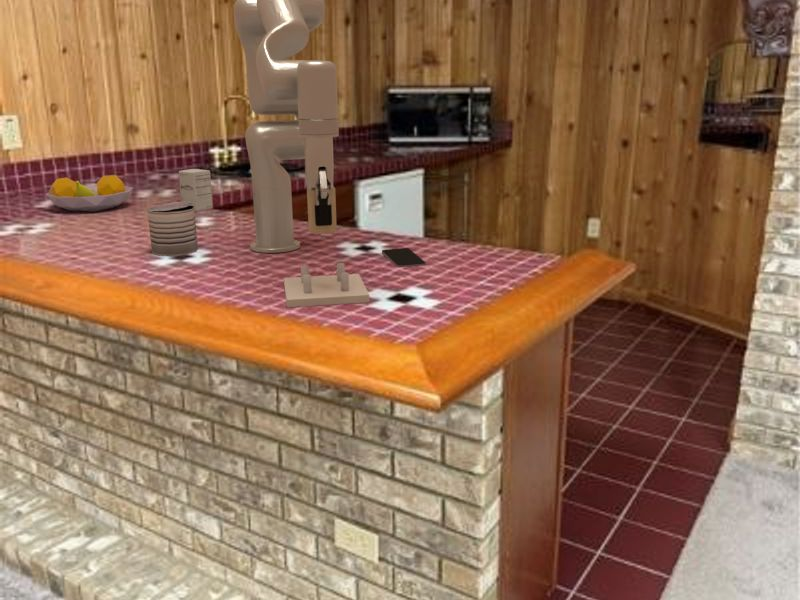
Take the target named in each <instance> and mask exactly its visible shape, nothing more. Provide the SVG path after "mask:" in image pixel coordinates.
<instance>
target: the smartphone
mask: <svg viewBox="0 0 800 600" xmlns="http://www.w3.org/2000/svg"><path fill="white" fill-rule="evenodd" d="M381 254H382V255H383V256H384V257H385V258H386V259H387V260H388V261H390V262H391V263H392V264H393V266H395V267H398V268H408V267H409V268H410V267H420V266H426V265H427V262H426V261H425V260H424V259H422V258H421V257H420V256H419V255H417V254H416V253H415V252H414V251H413V250H412V249H411V248H407V247H401V248H400V247H399V248H387V249H382V250H381Z"/></svg>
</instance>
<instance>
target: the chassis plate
mask: <svg viewBox="0 0 800 600" xmlns="http://www.w3.org/2000/svg"><path fill="white" fill-rule="evenodd" d="M309 269H310V266H309V264H301V265H300V276H294V277H283V286H284V287H283V288H284V292H285V293H284V294H285V295H284V296H285V303H286V308H298V307H297V306H301V307H317V306H329V305H332V306H333V305H346V304H347V305H348V304H363V303H364V304H365V303H370V301H371V300H370V299H371V298H370V293H369V291H368V289H367V288H366V285H365V284H364V281H363V279H362V277H361V275H360V274H359V273H349V272H347V271H345V263H344V262H339V263H336V274H333V275H331V274H330V275H329V274H328V275H314V276H312V275H311V274H310V273H309V272H310V270H309Z"/></svg>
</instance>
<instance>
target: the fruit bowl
mask: <svg viewBox="0 0 800 600" xmlns="http://www.w3.org/2000/svg"><path fill="white" fill-rule="evenodd" d="M133 190H134V187H131V186H127V185H125V184H124V182H123V181H122V180H121V178H119V177H118V176H117V175H116V174H111V175H109V174H108V175H103V176H102V177H101V178H100V179H99V180H98V181H97V183H96V184H93V185H91V184H90V185H84V184H81V183H80V181H79V180H75V181H74V180H73V179H70V178H69V177H59V178H56V179H55V181H54V182H53V183H52V184H51V186H50V189H49V191H48V192H47V193H45V195H46V196H47V198H48V199H49V200H50V201H51V202H52V203H53V205H54V206H56V207H59V208H62V209H65V210H68V211H71V212H98V211H99V212H100V211H104V210H108V209H114V208H117V207H118V206H120V205H121V204H123V203H125V202H126V201H129V200H130V198H131V196H132V192H133Z"/></svg>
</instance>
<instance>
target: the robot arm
mask: <svg viewBox="0 0 800 600" xmlns="http://www.w3.org/2000/svg"><path fill="white" fill-rule="evenodd" d="M325 15H326V2H325V0H236V1H235V3H234V5H233V19H234V27H235V30H236V33H237V36H238V39H239V41H240V44H241V46H242V49H243V53H244V57H245V69H246V80H247V81H246V82H247V92H248V95H247V96H248V103H249V106H250V109H251V110H252V112H253V113H255V114H257V115H262V116H263V115H264V116H281V115H283V116H285V115H293V116H295V119H296V120H295V119H293V120H261V121H257V122H253V123H252V124H250V125H249V126H248V127H247V129H246V131H245V135H244V136H245V137H244V138H245V145H246V150H247V153H248V155H247V156H248V158H249V165H250V172H251V184H252V195H253V196H252V198H253V200H252V201H253V213H254V214H253V215H254V227H255V228H254V230H255V241H253V242H251V243H250V245H249V246H250V247H249V248H250V250H251V251H252V252H257V253H263V254H275V253H276V254H277V253H287V252H292V251H295V250H298V249H299V248H300V247H301V242H300V241H299V240H297V239H294V238H295V237H294V219H293V217H294V216H293V199H292V198H293V197H292V195H293V194H292V180H291V177H290V174H289V173H288V171H287V170H286V169H285V168H284V167H283V166H282V165H281V164H280V162H281V161H290V160H304V170H305V171H304V172H305V176H304V177H305V186H306V189H307V188H308V189H309V190H312V188H315V197H316V205H315V224H316V226H328V225H332V207H331V202H330V190H331V189H332V188H333V186H334V176H335V175H334V173H335V172H334V140H333V138H337V137H339V133H340V132H339V131H340V130H339V102H338V101H339V100H338V76H337V75H338V72H337V71H338V70H337V66H336V64H335V63H334V62H333V61H330V60H318V59H315V60H314V59H311V60H310V59H309V60H307V59H306V60H304V59H288V58H290V57H292V56H294V55H296V54H299V53H300V52H301V51H302V50H304V48H306V46H307V45H308V42H309V39H310V32H312V31H314V30H316V29H317V28H318V27H319V26H320V25H322V23H323V21H324V19H325ZM329 183H330V184H329ZM317 186H320V188H319V189H317ZM318 193H319V194H318Z"/></svg>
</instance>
